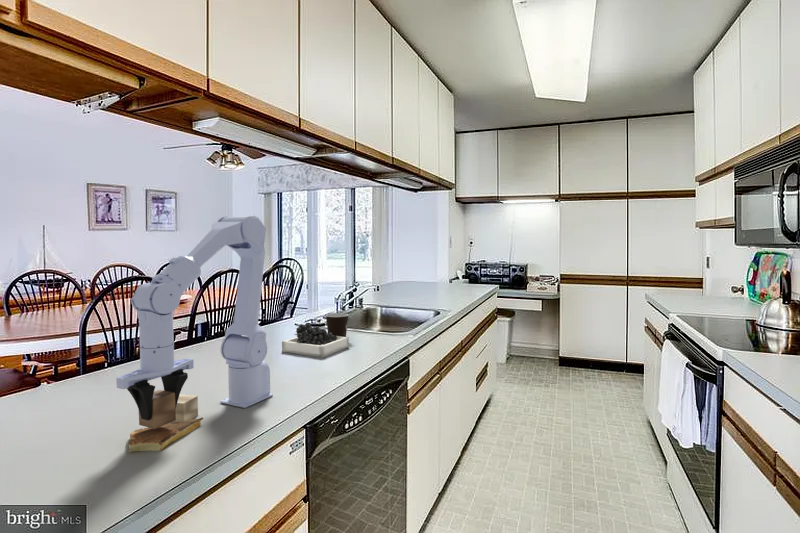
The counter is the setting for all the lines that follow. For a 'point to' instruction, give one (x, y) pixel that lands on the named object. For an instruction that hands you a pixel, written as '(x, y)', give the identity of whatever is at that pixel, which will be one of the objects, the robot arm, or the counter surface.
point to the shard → (160, 435)
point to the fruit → (313, 335)
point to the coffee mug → (337, 324)
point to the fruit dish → (315, 347)
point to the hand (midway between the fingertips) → (158, 414)
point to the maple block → (186, 408)
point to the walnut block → (161, 410)
